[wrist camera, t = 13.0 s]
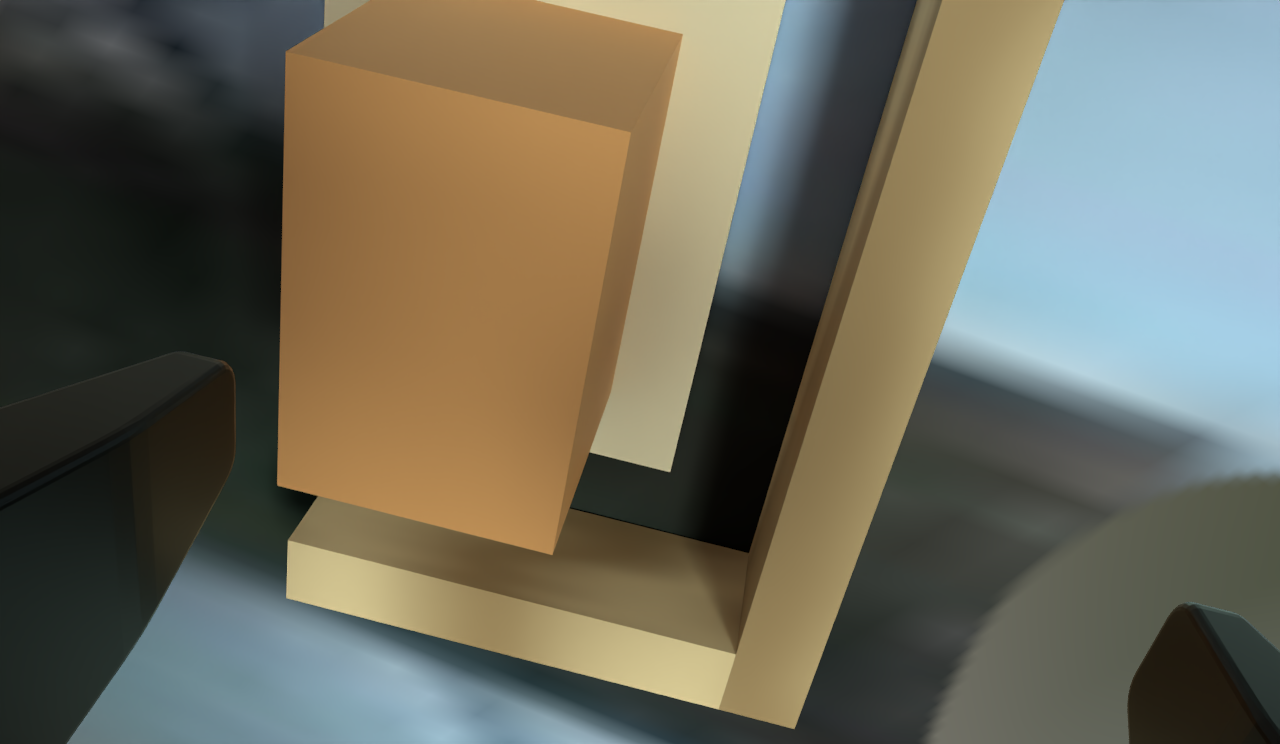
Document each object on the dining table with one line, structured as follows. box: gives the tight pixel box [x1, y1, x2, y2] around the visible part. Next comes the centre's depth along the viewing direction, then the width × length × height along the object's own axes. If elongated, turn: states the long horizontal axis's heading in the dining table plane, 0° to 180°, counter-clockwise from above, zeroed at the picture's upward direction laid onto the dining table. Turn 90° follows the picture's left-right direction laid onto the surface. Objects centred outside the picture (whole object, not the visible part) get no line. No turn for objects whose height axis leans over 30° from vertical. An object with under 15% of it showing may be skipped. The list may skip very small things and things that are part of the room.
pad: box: [324, 0, 786, 472], centre depth 21 cm, size 8×10×1 cm
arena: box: [286, 0, 1064, 729], centre depth 20 cm, size 10×16×3 cm, turn 169°
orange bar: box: [277, 0, 683, 555], centre depth 18 cm, size 7×4×5 cm, turn 169°
